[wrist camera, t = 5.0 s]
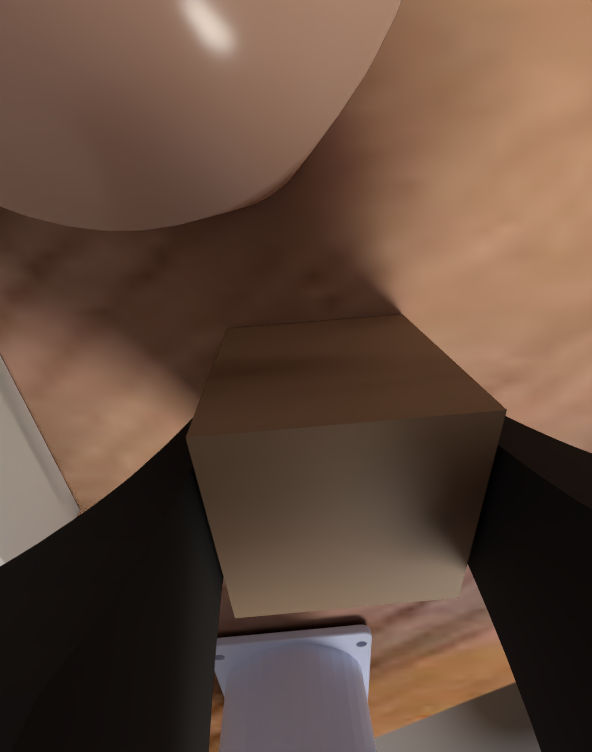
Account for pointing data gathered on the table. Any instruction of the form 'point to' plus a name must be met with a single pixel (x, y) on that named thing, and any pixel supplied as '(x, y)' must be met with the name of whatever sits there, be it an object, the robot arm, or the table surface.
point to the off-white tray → (27, 478)
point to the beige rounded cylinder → (170, 102)
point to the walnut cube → (341, 465)
